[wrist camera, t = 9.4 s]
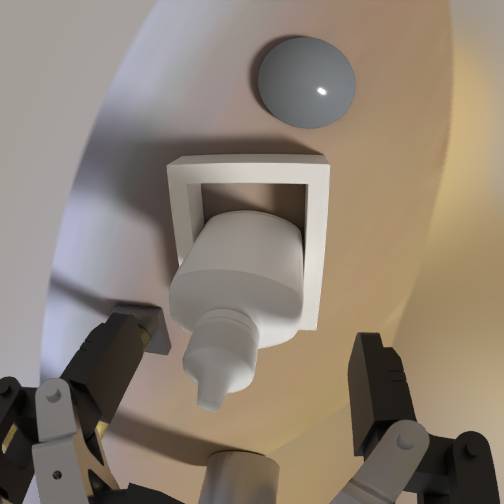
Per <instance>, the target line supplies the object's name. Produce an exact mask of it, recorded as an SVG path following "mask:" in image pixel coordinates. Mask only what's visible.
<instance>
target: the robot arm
mask: <svg viewBox="0 0 504 504" xmlns="http://www.w3.org/2000/svg"><path fill="white" fill-rule="evenodd" d="M143 351H144V346H143V341H142V338H141V335H140V332H139V328H138V325H137V322H136V318H135V316H134V315H133V314H127V313H120V312H113V313H112V314H111V316H110V317H109V319H108V320H107V321H106V323H101V324H100V325H98V326H97V327H96V328H94V329H93V330H92V331H91V332H90V334H89V335H88V336H87V338H86V339H85V342H83V344H82V345H81V346H80V350H78V351H77V352H76V354H75V355H74V357H73V358H72V360H71V361H70V363H69V364H68V366H67V367H66V369H65V370H64V372H63V373H62V375H61V376H60V377H59V378H52V379H49V380H46V381H45V382H43V383H42V384H41V385H40V386H39V387H38V388H30V387H22V386H21V385H20V383H19V382H18V380H17V379H16V378H14V377H4V378H2V379H0V504H22V503H23V500H24V498H25V495H26V493H27V490H28V488H29V485H30V483H31V480H32V478H33V475H34V473H35V475H36V481H37V486H38V491H39V497H40V501H41V504H185V503H182V502H180V501H178V500H176V499H174V498H172V497H170V496H168V495H166V494H164V493H162V492H160V491H157V490H153V489H149V488H146V487H142V486H138V485H136V484H132V483H129V485H128V488H127V489H120V488H119V485H118V483H117V482H116V480H115V478H114V477H113V475H112V473H111V471H110V469H109V466H108V463H107V460H106V456H105V453H104V450H103V446H102V443H101V439H100V436H99V432H98V429H97V427H96V426H97V424H98V422H99V421H101V422H104V423H108V424H110V423H111V420H112V418H113V416H114V414H115V412H116V410H117V408H118V406H119V404H120V402H121V400H122V398H123V395H124V393H125V391H126V389H127V387H128V385H129V383H130V381H131V379H132V377H133V375H134V373H135V371H136V369H137V367H138V365H139V363H140V361H141V359H142V357H143ZM348 385H349V395H350V406H351V418H352V430H353V446H354V456H364V463H363V465H362V466H361V467H360V469H359V470H358V471H357V472H356V474H355V475H354V476H353V477H352V478H351V480H350V481H349V482H348V483H347V484H346V485H345V486H344V487H343V489H342V490H341V491H340V492H339V493H338V495H336V497H335V498H334V499H333V500H332V501H331V502H330V503H329V504H395V502H396V500H397V498H398V497H399V495H400V494H401V492H402V491H407V492H413V493H417V504H500V499H499V492H498V486H497V480H496V475H495V469H494V464H493V459H492V454H491V450H490V446H489V443H488V441H487V439H486V438H485V437H484V436H483V435H482V434H480V433H478V432H475V431H467V432H464V433H462V434H460V435H459V436H458V437H457V438H456V439H450V438H444V437H438V436H434V435H431V434H429V433H428V432H427V431H426V429H425V428H424V427H423V426H422V425H421V424H419V423H418V422H417V420H416V417H415V413H414V408H413V404H412V399H411V396H410V391H409V387H408V384H407V382H406V376H405V373H404V369H403V365H402V361H401V358H400V356H398V354H397V353H396V352H395V350H394V349H393V348H392V347H383V344H382V340H381V336H380V334H379V333H364V332H358V333H357V335H356V338H355V342H354V346H353V350H352V353H351V357H350V360H349V365H348ZM13 424H14V426H15V427H16V428H17V430H16V432H15V434H14V436H13V438H12V440H11V441H10V443H9V445H8V447H7V450H6V452H5V453H3V451H2V444H3V442H4V440H5V438H6V436H7V434H8V432H9V430H10V428H11V426H12V425H13ZM278 479H279V465H278V464H277V463H276V462H275V461H273V460H272V459H270V458H267V457H265V456H262V455H258V454H253V453H248V452H239V451H225V452H219V453H215V454H213V455H211V456H210V457H209V461H208V465H207V469H206V473H205V477H204V482H203V485H202V489H201V493H200V498H199V502H198V504H276V500H277V490H278Z"/></svg>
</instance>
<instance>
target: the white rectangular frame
mask: <svg viewBox="0 0 504 504" xmlns="http://www.w3.org/2000/svg"><path fill="white" fill-rule="evenodd" d="M166 166H167V176H168V185H169V194H170V203H171V211H172V219H173V226H174V234H175V241H176V248H177V255H178V261H179V267H180V265H181V263H182V262H183V260H184V258H185V257H186V255H187V253H188V252H189V250H190V249H191V247H192V245H193V244H194V242H195V240H196V239H197V237H198V236H199V234H200V233H201V231H202V229H203V228H204V226H205V225H204V214H203V203H202V191H201V183H290V184H306V200H305V226H304V247H303V282H304V303H303V310H302V316H301V320H300V324H299V328H298V330H316V328H317V320H318V311H319V303H320V294H321V284H322V274H323V264H324V252H325V240H326V227H327V213H328V197H329V177H330V164H329V162H328V160H327V158H326V156H325V155H304V154H216V155H191V156H181V157H180V158H178V159H176V160H175V161H173V162H171V163H170V164H168V165H166Z"/></svg>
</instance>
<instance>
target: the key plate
mask: <svg viewBox="0 0 504 504" xmlns="http://www.w3.org/2000/svg"><path fill="white" fill-rule="evenodd" d="M111 312H112V313H113V312H120V313H127V314H133V315H134V316H135V318H136V322H137V325H138V327H141V328H143V329H144V330H145V331H146V332H147V333H148V334H149V336H150V342H149V344H148V346H147V348H146V350H145V352H149V353H156V354H163V355H168V353H169V351H170V349H171V343H170V339H169V335H168V331H167V327H166V323H165V319H164V315H163V311H162V308H154V307H144V306H134V305H125V304H116V305H115V306H114V308H113V309H112V311H111Z"/></svg>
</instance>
